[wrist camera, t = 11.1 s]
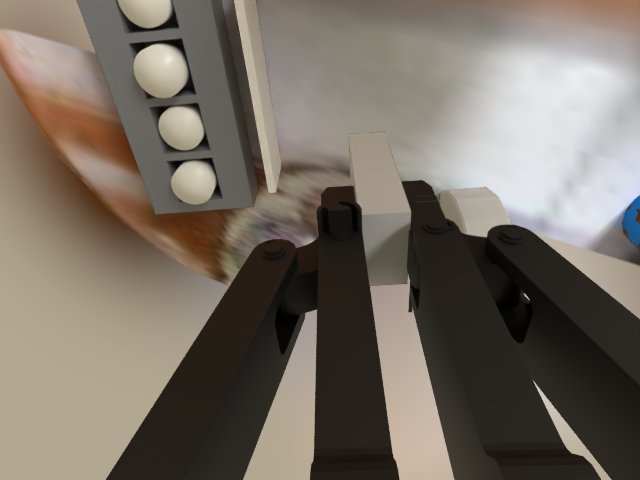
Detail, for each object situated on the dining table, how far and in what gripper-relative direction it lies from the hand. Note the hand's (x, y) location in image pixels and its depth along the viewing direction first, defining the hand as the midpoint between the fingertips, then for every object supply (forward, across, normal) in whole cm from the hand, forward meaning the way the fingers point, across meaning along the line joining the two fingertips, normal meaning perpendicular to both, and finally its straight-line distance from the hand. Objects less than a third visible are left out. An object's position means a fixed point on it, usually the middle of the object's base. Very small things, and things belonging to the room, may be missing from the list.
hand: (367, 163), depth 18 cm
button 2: (+27, -18, 0) cm, 32 cm away
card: (+30, -9, -3) cm, 32 cm away
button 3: (+29, -18, -6) cm, 34 cm away
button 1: (+29, -18, +6) cm, 34 cm away
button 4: (+27, -18, -12) cm, 35 cm away
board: (+30, -18, -3) cm, 35 cm away
